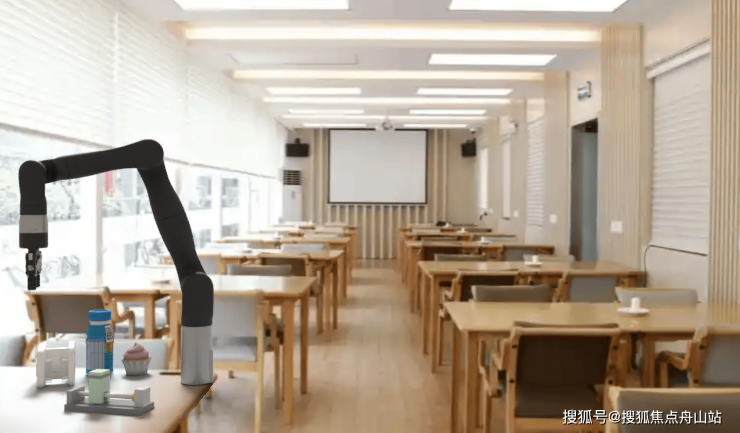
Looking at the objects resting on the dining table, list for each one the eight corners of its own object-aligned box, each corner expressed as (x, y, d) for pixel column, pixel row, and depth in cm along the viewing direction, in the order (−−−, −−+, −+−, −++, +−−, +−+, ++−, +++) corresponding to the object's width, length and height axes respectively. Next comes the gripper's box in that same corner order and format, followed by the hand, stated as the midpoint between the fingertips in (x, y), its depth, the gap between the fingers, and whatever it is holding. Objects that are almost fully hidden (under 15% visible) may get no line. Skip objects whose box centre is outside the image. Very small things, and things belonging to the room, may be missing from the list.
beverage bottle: (87, 377, 231) (87, 313, 231) (83, 372, 238) (83, 309, 238) (116, 375, 235) (116, 311, 235) (111, 370, 242) (111, 308, 242)
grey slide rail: (64, 410, 193) (64, 387, 193) (82, 402, 201) (82, 380, 201) (138, 415, 189) (139, 392, 189) (154, 407, 197) (154, 384, 197)
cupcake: (119, 372, 239) (119, 340, 239) (149, 369, 243) (149, 338, 243) (122, 378, 231) (122, 345, 231) (153, 375, 235) (154, 343, 235)
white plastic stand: (74, 388, 218) (74, 348, 218) (34, 390, 214) (35, 350, 214) (75, 377, 232) (75, 339, 232) (38, 379, 228) (38, 341, 228)
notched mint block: (88, 402, 194) (88, 372, 194) (97, 399, 198) (97, 368, 198) (101, 403, 193) (101, 372, 193) (109, 399, 197) (110, 369, 197)
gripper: (45, 231, 206) (45, 290, 206) (50, 230, 219) (50, 286, 219) (15, 232, 204) (15, 291, 204) (22, 230, 217) (22, 286, 217)
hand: (33, 288), depth 212 cm, fingers open, 8 cm apart
